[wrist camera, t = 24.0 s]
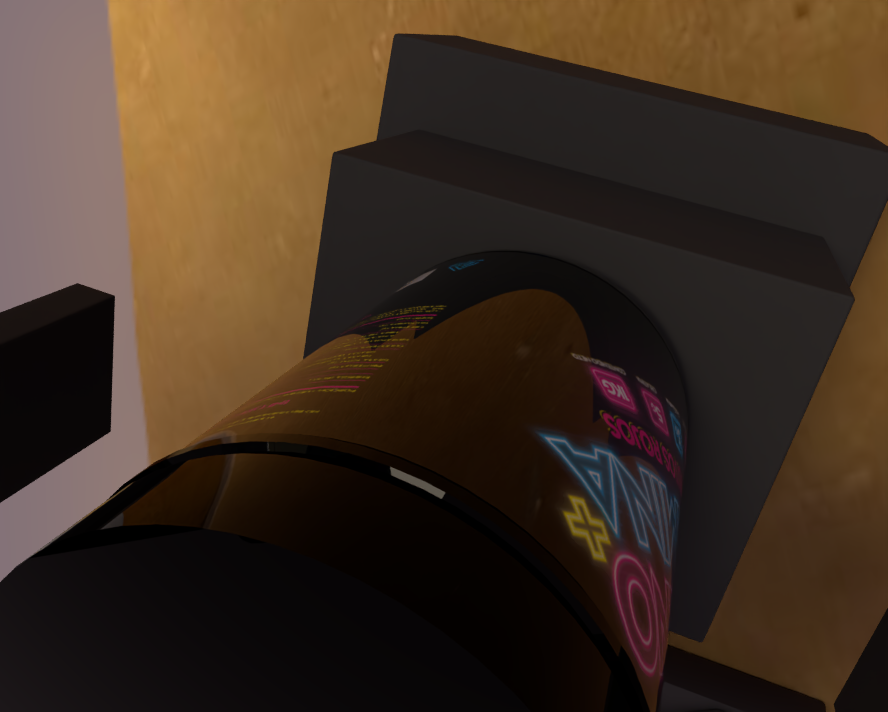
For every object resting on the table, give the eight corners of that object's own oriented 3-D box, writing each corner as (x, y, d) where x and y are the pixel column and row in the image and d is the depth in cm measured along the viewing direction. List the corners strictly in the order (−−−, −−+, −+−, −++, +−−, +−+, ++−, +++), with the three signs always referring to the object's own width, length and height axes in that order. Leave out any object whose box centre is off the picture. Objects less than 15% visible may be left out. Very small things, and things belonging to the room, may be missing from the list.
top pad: (366, 403, 24) (283, 485, 19) (417, 128, 20) (331, 151, 16) (707, 521, 22) (702, 644, 17) (825, 236, 18) (856, 298, 14)
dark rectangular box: (385, 385, 29) (324, 446, 25) (454, 35, 24) (392, 32, 20) (719, 499, 27) (717, 590, 22) (870, 134, 22) (907, 156, 17)
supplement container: (538, 599, 18) (340, 1179, 9) (312, 398, 18) (-119, 762, 9) (772, 406, 15) (849, 986, 6) (500, 164, 15) (136, 348, 6)
